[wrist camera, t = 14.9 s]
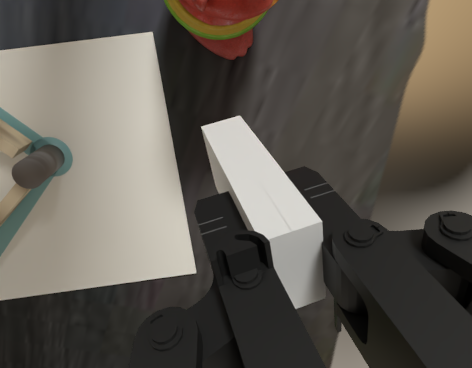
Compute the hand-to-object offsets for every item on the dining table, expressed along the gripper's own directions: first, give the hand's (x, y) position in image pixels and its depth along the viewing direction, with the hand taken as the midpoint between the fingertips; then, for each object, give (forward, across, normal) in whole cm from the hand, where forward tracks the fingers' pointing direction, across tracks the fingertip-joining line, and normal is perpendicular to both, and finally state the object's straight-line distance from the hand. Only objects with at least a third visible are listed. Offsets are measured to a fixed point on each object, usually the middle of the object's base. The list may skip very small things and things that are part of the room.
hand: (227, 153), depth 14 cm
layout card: (+27, -15, -13) cm, 33 cm away
